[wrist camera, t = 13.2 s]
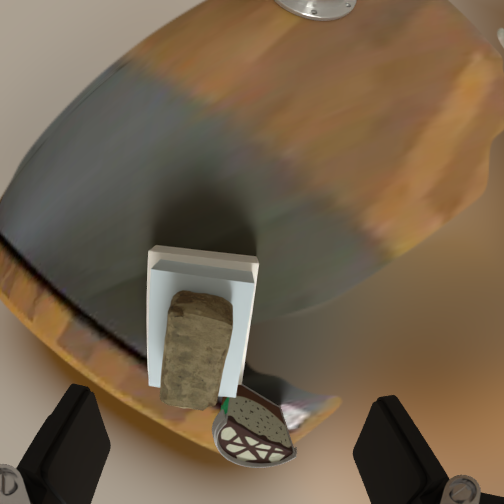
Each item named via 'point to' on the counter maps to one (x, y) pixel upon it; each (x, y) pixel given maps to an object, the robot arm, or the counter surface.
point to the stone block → (195, 349)
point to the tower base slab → (208, 260)
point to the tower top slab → (199, 281)
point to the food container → (252, 431)
